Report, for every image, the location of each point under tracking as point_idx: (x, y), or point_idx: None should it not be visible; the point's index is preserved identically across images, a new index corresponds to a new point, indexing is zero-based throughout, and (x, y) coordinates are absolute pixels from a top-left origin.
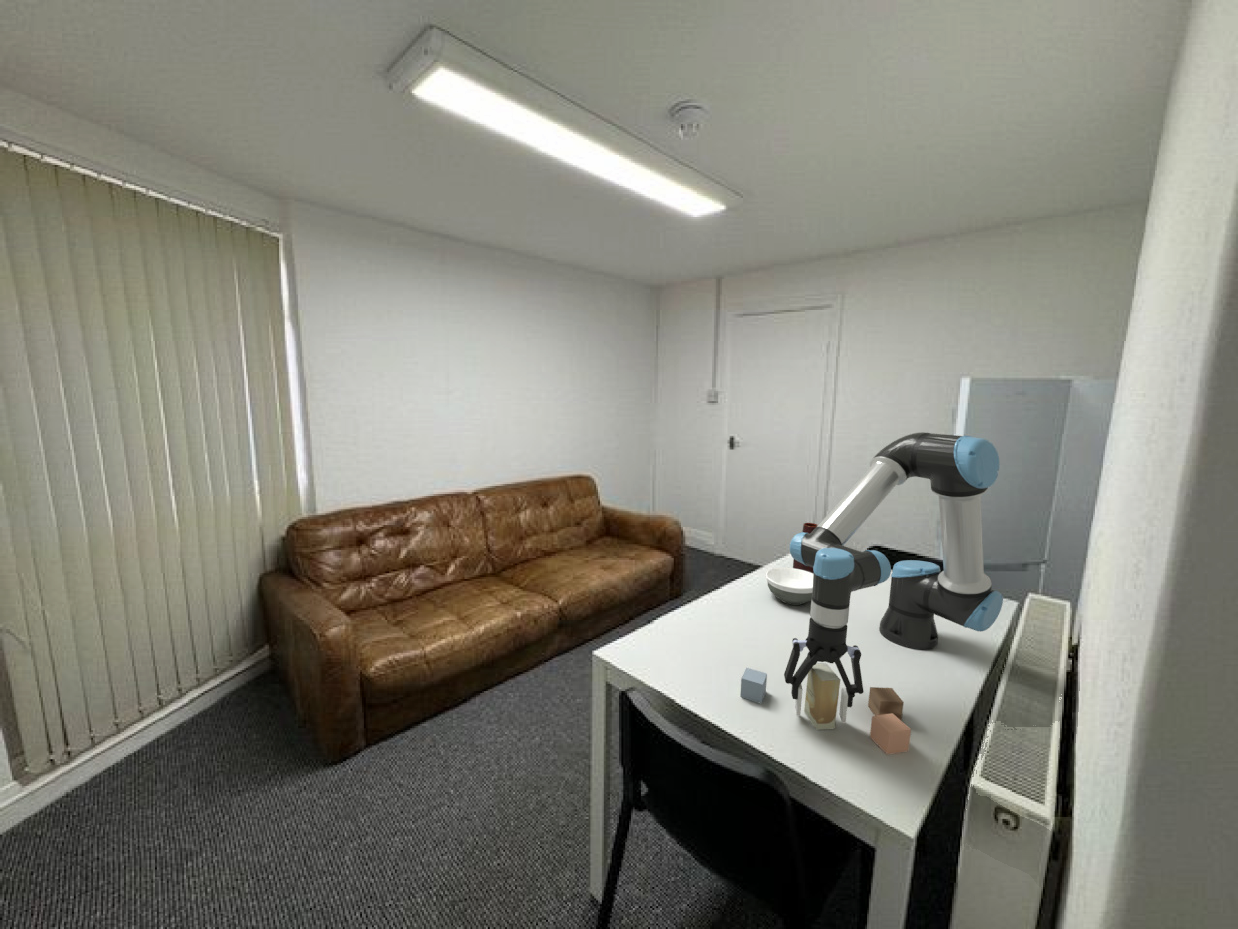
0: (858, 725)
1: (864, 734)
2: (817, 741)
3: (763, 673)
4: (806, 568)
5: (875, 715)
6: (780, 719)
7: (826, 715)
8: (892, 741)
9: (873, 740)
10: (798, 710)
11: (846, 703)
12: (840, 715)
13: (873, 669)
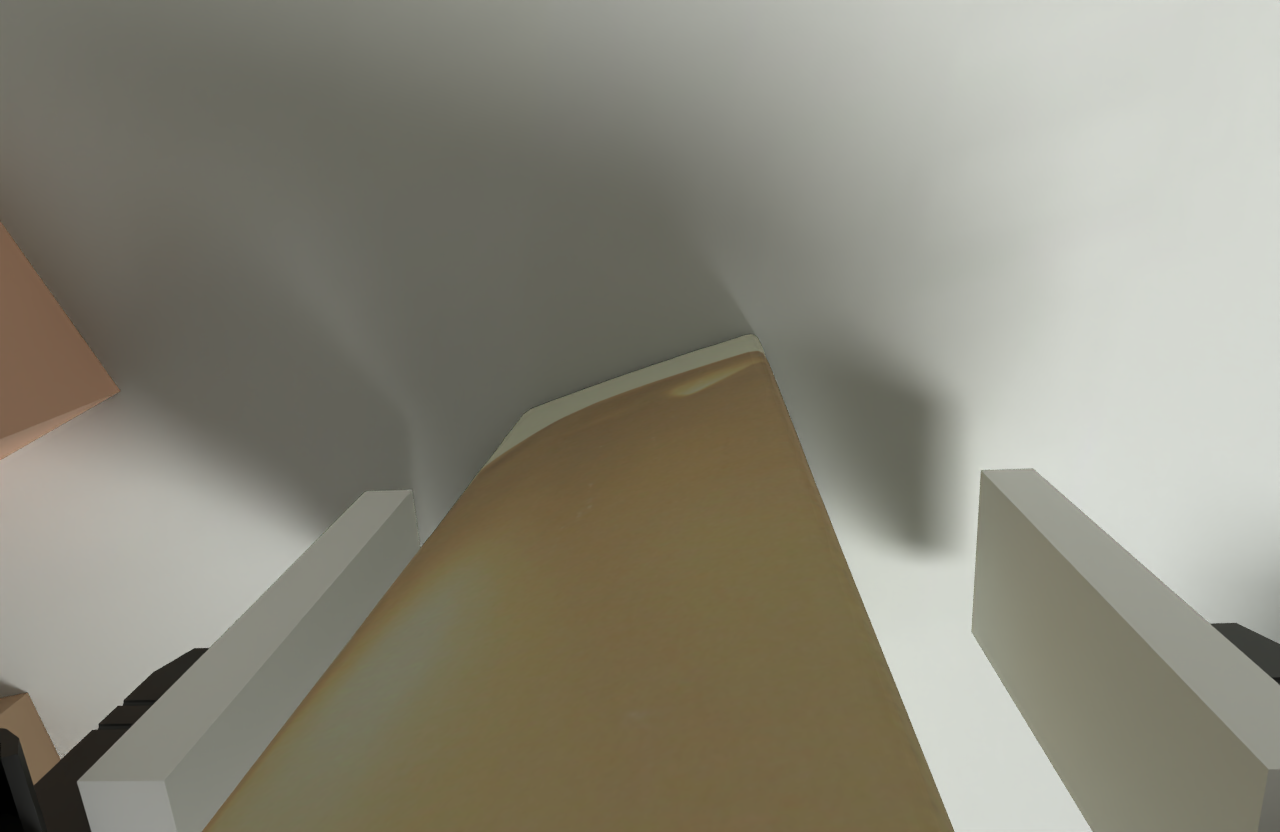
0: (238, 562)
1: (178, 420)
2: (778, 94)
3: None
4: None
5: (45, 764)
6: (1216, 411)
7: (629, 422)
8: None
9: (81, 339)
10: (1045, 501)
11: (221, 653)
12: None
13: None
